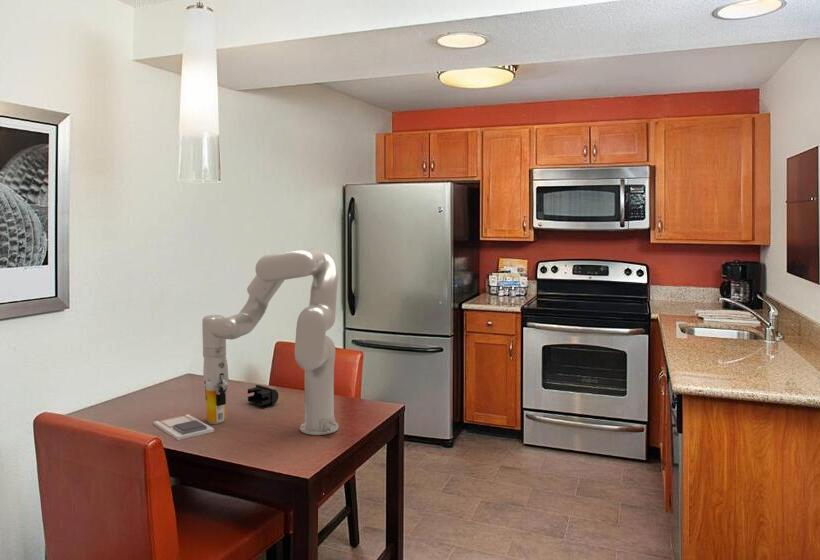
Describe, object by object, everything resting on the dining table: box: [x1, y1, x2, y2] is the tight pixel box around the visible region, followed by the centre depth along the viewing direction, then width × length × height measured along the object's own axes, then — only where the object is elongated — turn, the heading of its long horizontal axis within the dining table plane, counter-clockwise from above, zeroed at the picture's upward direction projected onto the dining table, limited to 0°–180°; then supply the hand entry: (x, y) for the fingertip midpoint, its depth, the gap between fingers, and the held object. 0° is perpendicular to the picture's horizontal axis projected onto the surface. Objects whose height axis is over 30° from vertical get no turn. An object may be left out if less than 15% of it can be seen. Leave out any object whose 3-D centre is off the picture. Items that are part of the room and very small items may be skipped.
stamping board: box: [153, 414, 215, 441], centre depth 203 cm, size 20×12×2 cm, turn 43°
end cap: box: [247, 384, 279, 410], centre depth 230 cm, size 10×7×7 cm
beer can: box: [205, 380, 226, 425], centre depth 210 cm, size 6×6×15 cm
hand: (215, 402), depth 210 cm, fingers open, 7 cm apart
